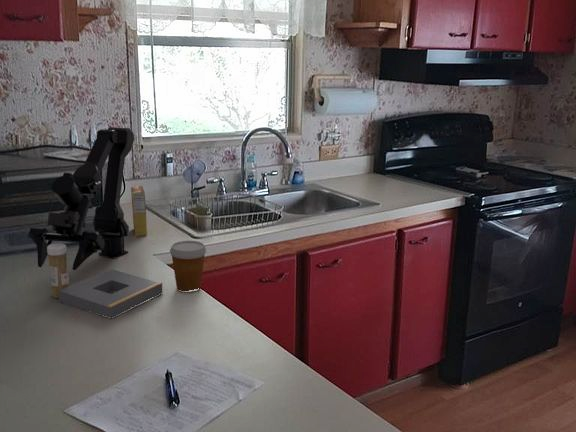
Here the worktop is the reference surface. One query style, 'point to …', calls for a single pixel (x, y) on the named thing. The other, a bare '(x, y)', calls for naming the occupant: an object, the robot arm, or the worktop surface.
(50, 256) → the amber pill bottle
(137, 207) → the candy box
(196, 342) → the worktop surface
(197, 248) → the disposable coffee cup
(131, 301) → the socket plate
